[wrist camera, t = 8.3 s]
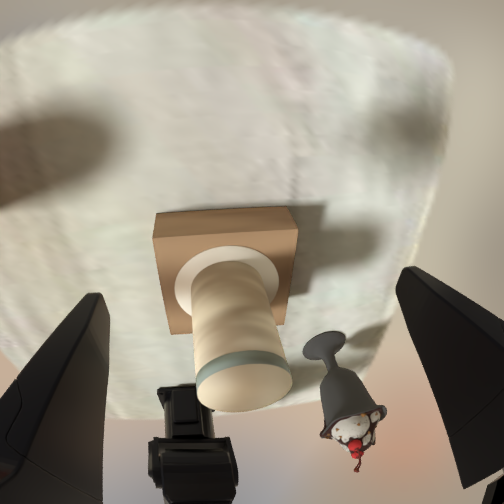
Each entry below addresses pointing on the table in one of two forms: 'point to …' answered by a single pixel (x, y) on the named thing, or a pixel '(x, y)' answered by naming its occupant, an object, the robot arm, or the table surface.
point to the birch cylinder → (236, 340)
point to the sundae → (344, 399)
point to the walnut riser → (223, 254)
